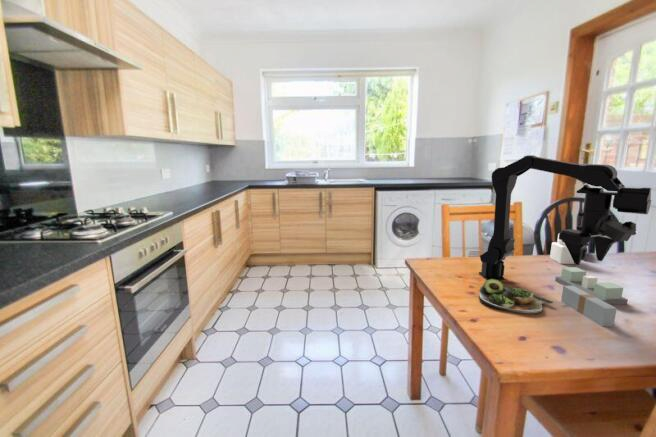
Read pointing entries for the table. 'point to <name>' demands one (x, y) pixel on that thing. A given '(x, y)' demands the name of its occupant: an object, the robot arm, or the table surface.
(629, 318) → the table surface
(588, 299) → the banded grey bar
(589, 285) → the display stand
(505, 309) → the salad plate
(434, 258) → the table surface
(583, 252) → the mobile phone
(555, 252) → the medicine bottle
